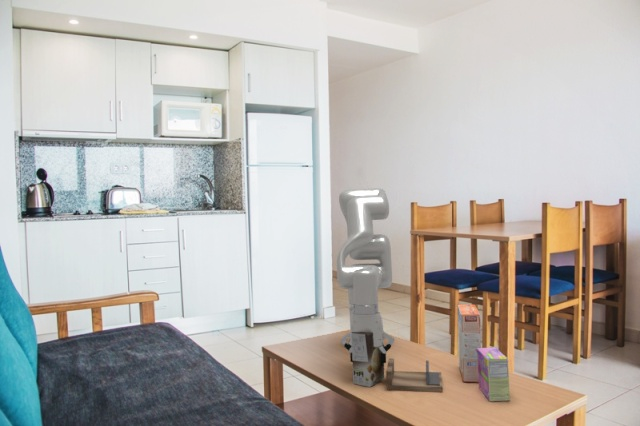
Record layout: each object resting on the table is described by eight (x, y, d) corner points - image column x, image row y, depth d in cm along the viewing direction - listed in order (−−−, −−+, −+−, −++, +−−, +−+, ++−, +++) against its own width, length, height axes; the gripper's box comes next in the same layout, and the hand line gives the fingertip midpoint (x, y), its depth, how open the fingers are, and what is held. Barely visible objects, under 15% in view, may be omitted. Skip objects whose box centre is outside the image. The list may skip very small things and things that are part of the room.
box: (478, 387, 148) (476, 347, 148) (497, 387, 148) (496, 347, 147) (488, 402, 138) (487, 359, 137) (510, 401, 137) (508, 358, 137)
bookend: (426, 373, 157) (425, 360, 157) (438, 373, 156) (438, 360, 156) (426, 385, 147) (426, 371, 147) (439, 385, 147) (439, 372, 146)
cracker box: (483, 383, 151) (480, 314, 150) (462, 382, 152) (459, 313, 151) (478, 367, 165) (476, 303, 164) (459, 366, 166) (456, 303, 165)
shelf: (389, 375, 161) (389, 358, 160) (441, 377, 157) (440, 359, 157) (386, 390, 149) (386, 371, 149) (442, 392, 146) (441, 373, 145)
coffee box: (370, 387, 151) (368, 334, 151) (352, 383, 155) (350, 332, 154) (385, 377, 159) (383, 327, 158) (367, 374, 163) (365, 325, 162)
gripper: (336, 311, 154) (338, 368, 155) (393, 311, 151) (396, 369, 151) (340, 306, 162) (342, 360, 162) (395, 306, 158) (397, 361, 159)
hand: (368, 364), depth 157 cm, fingers closed on coffee box, 8 cm apart
